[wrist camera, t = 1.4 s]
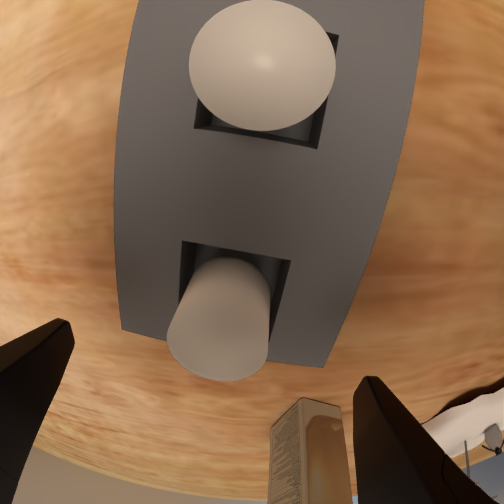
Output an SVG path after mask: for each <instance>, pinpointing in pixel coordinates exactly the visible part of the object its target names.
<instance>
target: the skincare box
mask: <svg viewBox="0 0 504 504" xmlns="http://www.w3.org/2000/svg"><path fill="white" fill-rule="evenodd" d="M267 504H353V502H352V492H351V484H350V475H349V467H348V459H347V451H346V444H345V437H344V430H343V424H342V417H341V410H340V407H336V406H332V405H328V404H325V403H321V402H317V401H313V400H309V399H306V398H301V399H300V400H299V401H298V402H297V403H296V404H295V405H294V406H293V407H292V408H291V409H290V410H289V411H288V412H287V413H286V414H285V415H284V416H283V417H282V418H281V419H280V420H279V421H278V422H277V423H276V424H275V425H274V426H273V427H272V428H271V436H270V462H269V485H268V502H267Z"/></svg>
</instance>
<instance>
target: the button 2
mask: <svg viewBox="0 0 504 504" xmlns="http://www.w3.org/2000/svg"><path fill="white" fill-rule="evenodd" d="M269 317H270V286H269V283H268V280H267V278H266V277H265V275H264V274H263V273H262V271H261V270H260V269H259V268H257V267H256V266H255V265H253V264H252V263H250V262H248V261H246V260H244V259H241V258H237V257H231V256H223V257H216V258H213V259H210V260H208V261H206V262H204V263H203V264H202V265H200V266H199V267H198V268H197V269H196V271H195V272H194V274H193V276H192V278H191V280H190V282H189V284H188V287H187V289H186V291H185V293H184V295H183V297H182V300H181V302H180V304H179V306H178V308H177V310H176V313H175V315H174V317H173V319H172V321H171V324H170V326H169V328H168V331H167V344H168V348H169V350H170V352H171V354H172V355H173V357H174V358H175V359H176V361H177V362H178V363H179V364H180V365H181V366H183V367H184V368H185V369H187V370H188V371H190V372H192V373H194V374H196V375H198V376H200V377H203V378H206V379H210V380H216V381H236V380H240V379H244V378H247V377H249V376H251V375H253V374H254V373H256V372H257V371H258V370H260V368H261V367H262V366H263V365H264V363H265V361H266V359H267V355H268V339H269Z"/></svg>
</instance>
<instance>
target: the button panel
mask: <svg viewBox="0 0 504 504" xmlns="http://www.w3.org/2000/svg"><path fill="white" fill-rule="evenodd" d="M244 1H250V0H139V2H138V6H137V10H136V14H135V18H134V23H133V27H132V32H131V36H130V41H129V47H128V52H127V57H126V63H125V69H124V76H123V82H122V90H121V97H120V106H119V115H118V125H117V137H116V152H115V172H114V242H115V263H116V277H117V290H118V300H119V310H120V319H121V327H122V330H125V331H129V332H133V333H136V334H140V335H144V336H148V337H152V338H156V339H160V340H164V341H167V331H168V328H169V326H170V324H171V321H172V319H173V317H174V315H175V313H176V310H177V308H178V306H179V304H180V302H181V300H182V297H183V295H184V293H185V291H186V289H187V287H188V284H189V282H190V280H191V278H192V276H193V274H194V272H195V271H196V269H197V268H198V267H199V266H200V265H202V264H203V263H204V262H206V261H208V260H210V259H213V258H216V257H223V256H231V257H237V258H241V259H244V260H246V261H248V262H250V263H252V264H253V265H255V266H256V267H257V268H259V269H260V270H261V271H262V273H263V274H264V275H265V277H266V278H267V280H268V283H269V286H270V317H269V339H268V355H267V359H266V361H272V362H279V363H286V364H293V365H301V366H310V367H319V368H323V367H324V365H325V363H326V361H327V358H328V356H329V354H330V352H331V350H332V348H333V345H334V343H335V341H336V339H337V336H338V334H339V332H340V330H341V327H342V325H343V323H344V320H345V318H346V316H347V313H348V311H349V308H350V306H351V303H352V301H353V298H354V296H355V293H356V291H357V288H358V286H359V283H360V280H361V278H362V275H363V272H364V270H365V267H366V264H367V261H368V259H369V256H370V253H371V250H372V247H373V244H374V241H375V238H376V235H377V232H378V229H379V226H380V223H381V220H382V217H383V214H384V210H385V207H386V204H387V200H388V197H389V194H390V190H391V187H392V183H393V179H394V176H395V172H396V168H397V164H398V160H399V157H400V152H401V148H402V144H403V140H404V136H405V131H406V127H407V122H408V117H409V112H410V107H411V102H412V97H413V91H414V85H415V79H416V73H417V66H418V59H419V52H420V44H421V35H422V25H423V13H424V0H275V1H280V2H284V3H287V4H290V5H293V6H295V7H297V8H299V9H301V10H303V11H304V12H306V13H307V14H309V15H310V16H311V17H312V18H314V19H315V20H316V21H317V22H318V23H319V24H320V25H321V27H322V28H323V29H324V31H325V32H326V34H327V35H328V37H329V39H330V41H331V44H332V46H333V49H334V54H335V60H336V71H335V78H334V82H333V85H332V88H331V90H330V92H329V94H328V96H327V97H326V99H325V101H324V102H323V103H322V104H321V106H320V107H319V108H318V109H317V110H316V111H315V112H314V113H312V114H311V115H310V116H308V117H307V118H306V119H304V120H302V121H300V122H298V123H297V124H294V125H291V126H289V127H286V128H282V129H278V130H270V131H256V130H248V129H243V128H239V127H236V126H234V125H231V124H229V123H227V122H225V121H223V120H221V119H220V118H218V117H217V116H215V115H214V114H213V113H212V112H210V111H209V110H208V109H207V108H206V107H205V106H204V104H203V103H202V102H201V101H200V99H199V98H198V96H197V94H196V92H195V90H194V88H193V86H192V82H191V79H190V74H189V57H190V51H191V48H192V45H193V42H194V40H195V38H196V36H197V34H198V33H199V31H200V30H201V28H202V27H203V26H204V25H205V23H206V22H207V21H208V20H210V19H211V18H212V17H213V16H214V15H216V14H217V13H218V12H220V11H222V10H223V9H225V8H227V7H229V6H232V5H234V4H237V3H240V2H244Z"/></svg>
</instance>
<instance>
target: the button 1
mask: <svg viewBox="0 0 504 504" xmlns="http://www.w3.org/2000/svg"><path fill="white" fill-rule="evenodd" d="M335 71H336V60H335V54H334V49H333V46H332V44H331V41H330V39H329V37H328V35H327V34H326V32H325V31H324V29H323V28H322V27H321V25H320V24H319V23H318V22H317V21H316V20H315V19H314V18H312V17H311V16H310V15H309V14H307V13H306V12H304V11H303V10H301V9H299V8H297V7H295V6H293V5H290V4H287V3H284V2H280V1H275V0H250V1H244V2H240V3H237V4H234V5H232V6H229V7H227V8H225V9H223V10H222V11H220V12H218V13H217V14H216V15H214V16H213V17H212V18H211V19H210V20H208V21H207V22H206V23H205V25H204V26H203V27H202V28H201V30H200V31H199V33H198V34H197V36H196V38H195V40H194V42H193V45H192V48H191V51H190V57H189V74H190V79H191V82H192V86H193V88H194V90H195V92H196V94H197V96H198V98H199V99H200V101H201V102H202V103H203V104H204V106H205V107H206V108H207V109H208V110H209V111H210V112H212V113H213V114H214V115H215V116H217V117H218V118H220V119H221V120H223V121H225V122H227V123H229V124H231V125H234V126H236V127H239V128H243V129H248V130H256V131H270V130H278V129H282V128H286V127H289V126H291V125H294V124H297V123H298V122H300V121H302V120H304V119H306V118H307V117H308V116H310V115H311V114H312V113H314V112H315V111H316V110H317V109H318V108H319V107H320V106H321V104H322V103H323V102H324V101H325V99H326V97H327V96H328V94H329V92H330V90H331V88H332V85H333V82H334V78H335Z"/></svg>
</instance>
